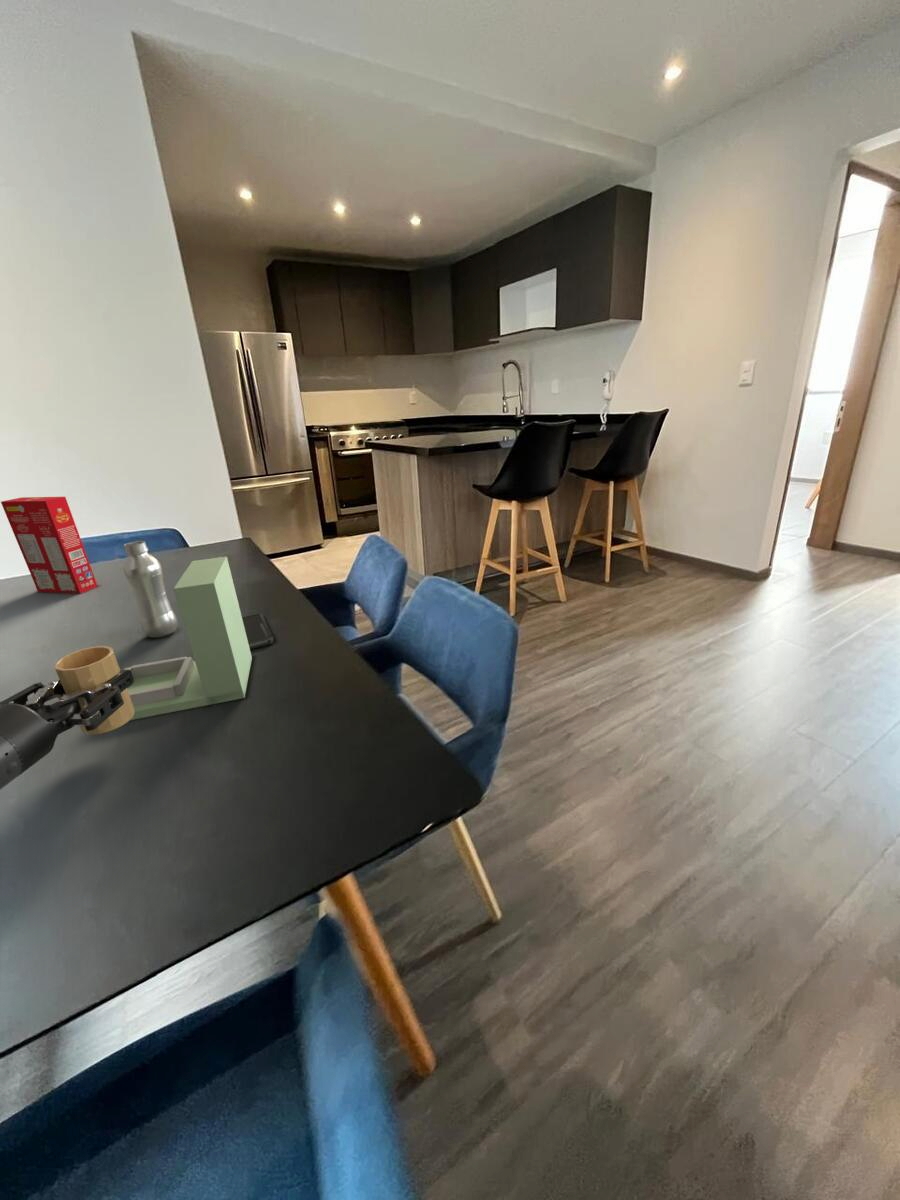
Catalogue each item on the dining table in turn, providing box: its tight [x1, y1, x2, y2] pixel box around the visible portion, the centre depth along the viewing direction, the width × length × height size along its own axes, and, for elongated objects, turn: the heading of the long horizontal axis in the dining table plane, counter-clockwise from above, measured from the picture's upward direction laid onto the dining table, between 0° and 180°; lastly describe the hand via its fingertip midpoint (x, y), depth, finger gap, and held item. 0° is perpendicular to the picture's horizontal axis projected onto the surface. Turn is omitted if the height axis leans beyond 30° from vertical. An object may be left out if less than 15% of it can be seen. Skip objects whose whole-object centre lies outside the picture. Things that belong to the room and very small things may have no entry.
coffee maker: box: [123, 556, 253, 721], centre depth 79 cm, size 20×14×20 cm
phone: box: [242, 613, 274, 651], centre depth 101 cm, size 8×1×15 cm
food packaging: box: [0, 496, 98, 594], centre depth 131 cm, size 15×5×25 cm, turn 77°
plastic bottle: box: [123, 540, 178, 639], centre depth 100 cm, size 6×7×20 cm
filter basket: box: [53, 645, 135, 736], centre depth 67 cm, size 6×7×10 cm
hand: (107, 674), depth 68 cm, fingers closed on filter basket, 6 cm apart
